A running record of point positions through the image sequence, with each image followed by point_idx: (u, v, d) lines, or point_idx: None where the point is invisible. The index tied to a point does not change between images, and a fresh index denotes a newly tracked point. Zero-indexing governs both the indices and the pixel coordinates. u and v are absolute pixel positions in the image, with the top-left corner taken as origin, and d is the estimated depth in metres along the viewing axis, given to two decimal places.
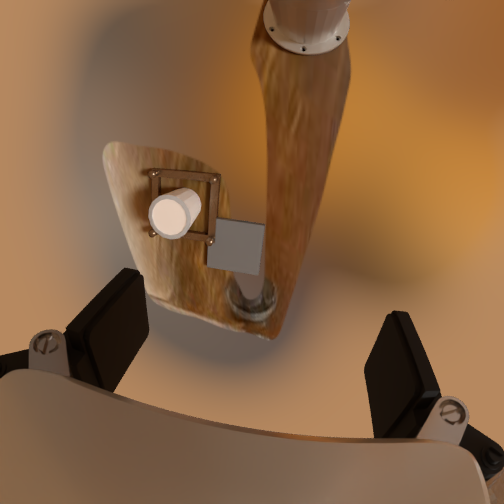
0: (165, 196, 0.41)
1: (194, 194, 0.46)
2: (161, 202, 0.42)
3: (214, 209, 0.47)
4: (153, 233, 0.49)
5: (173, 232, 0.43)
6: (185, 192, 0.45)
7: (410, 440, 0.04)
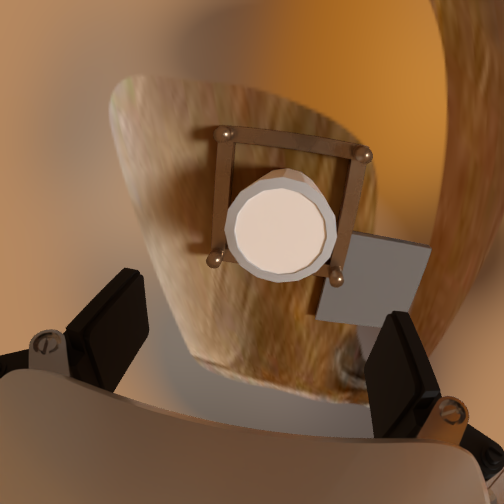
0: (277, 181, 0.17)
1: (313, 183, 0.22)
2: (264, 196, 0.17)
3: (351, 215, 0.23)
4: (217, 260, 0.25)
5: (286, 268, 0.19)
6: (304, 176, 0.20)
7: (410, 440, 0.04)
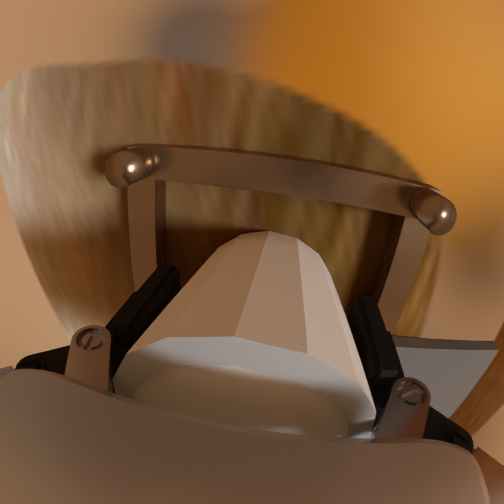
0: (218, 347, 0.05)
1: (323, 267, 0.11)
2: (186, 373, 0.06)
3: (390, 320, 0.11)
4: None
5: None
6: (303, 270, 0.09)
7: (410, 440, 0.04)
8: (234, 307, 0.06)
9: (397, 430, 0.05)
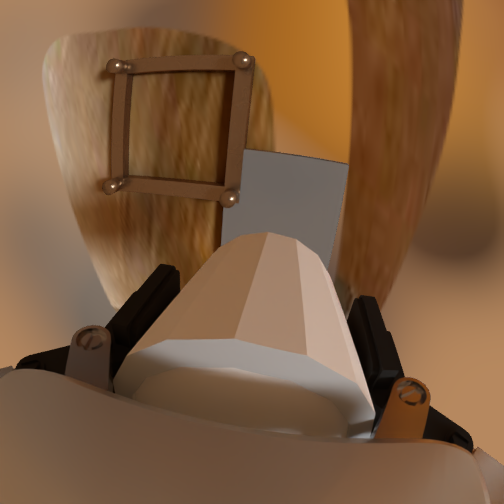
0: (217, 349, 0.05)
1: (323, 269, 0.11)
2: (187, 375, 0.06)
3: (240, 128, 0.20)
4: (111, 186, 0.22)
5: None
6: (302, 271, 0.09)
7: (410, 440, 0.04)
8: (234, 309, 0.06)
9: (397, 430, 0.05)
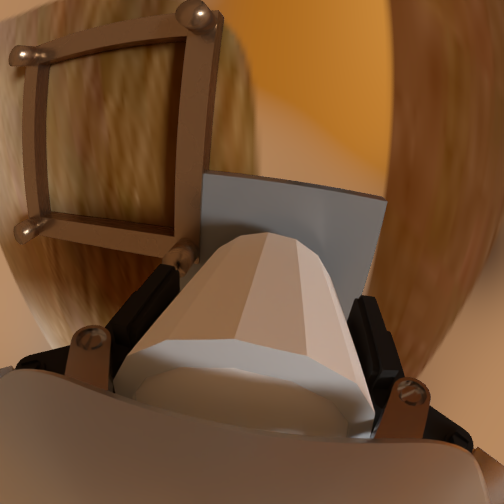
0: (217, 349, 0.05)
1: (323, 269, 0.11)
2: (186, 375, 0.06)
3: (196, 136, 0.11)
4: (22, 233, 0.13)
5: None
6: (302, 272, 0.09)
7: (410, 440, 0.04)
8: (234, 309, 0.06)
9: (397, 430, 0.05)
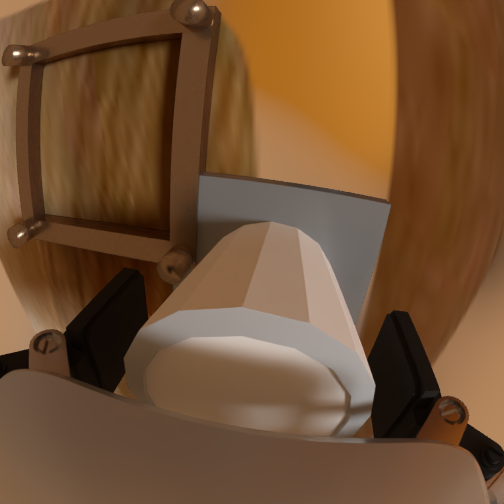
0: (226, 318, 0.06)
1: (323, 255, 0.11)
2: (196, 346, 0.06)
3: (191, 136, 0.11)
4: (16, 236, 0.13)
5: None
6: (304, 255, 0.09)
7: (410, 440, 0.04)
8: (241, 284, 0.07)
9: None
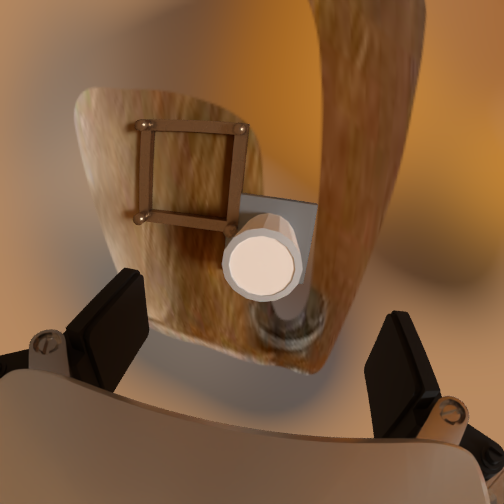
0: (259, 231, 0.24)
1: (289, 225, 0.29)
2: (249, 241, 0.25)
3: (238, 179, 0.29)
4: (140, 218, 0.31)
5: (266, 291, 0.26)
6: (280, 222, 0.28)
7: (410, 440, 0.04)
8: (261, 225, 0.25)
9: None
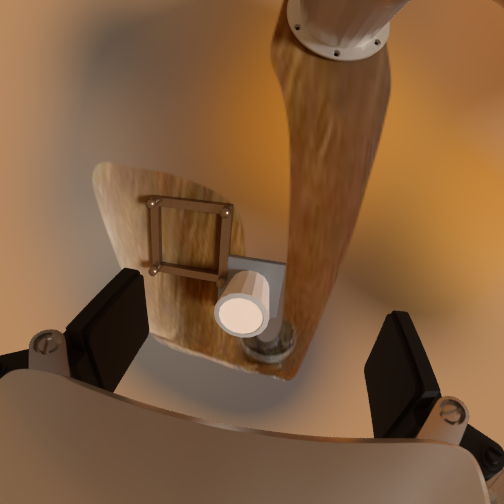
0: (238, 295, 0.35)
1: (263, 280, 0.40)
2: (232, 300, 0.36)
3: (226, 246, 0.40)
4: (154, 271, 0.42)
5: (245, 331, 0.37)
6: (256, 281, 0.39)
7: (410, 440, 0.04)
8: (240, 289, 0.36)
9: None
